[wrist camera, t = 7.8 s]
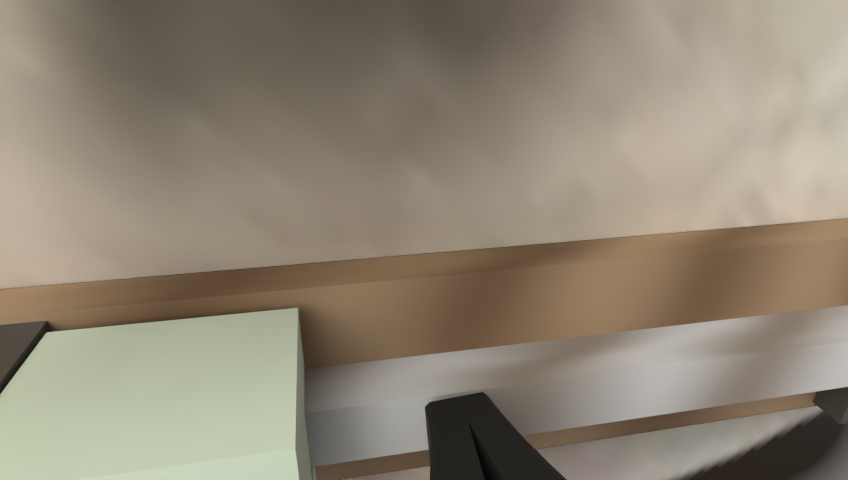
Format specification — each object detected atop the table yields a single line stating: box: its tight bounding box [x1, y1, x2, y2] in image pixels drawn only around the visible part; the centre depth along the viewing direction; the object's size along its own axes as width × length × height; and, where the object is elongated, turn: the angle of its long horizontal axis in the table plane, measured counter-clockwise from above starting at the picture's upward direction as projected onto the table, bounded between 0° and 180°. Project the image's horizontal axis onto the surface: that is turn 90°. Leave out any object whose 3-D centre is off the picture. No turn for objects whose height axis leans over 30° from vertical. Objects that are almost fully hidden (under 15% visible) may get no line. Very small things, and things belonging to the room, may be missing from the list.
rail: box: [0, 219, 848, 480], centre depth 13 cm, size 24×6×6 cm, turn 90°
